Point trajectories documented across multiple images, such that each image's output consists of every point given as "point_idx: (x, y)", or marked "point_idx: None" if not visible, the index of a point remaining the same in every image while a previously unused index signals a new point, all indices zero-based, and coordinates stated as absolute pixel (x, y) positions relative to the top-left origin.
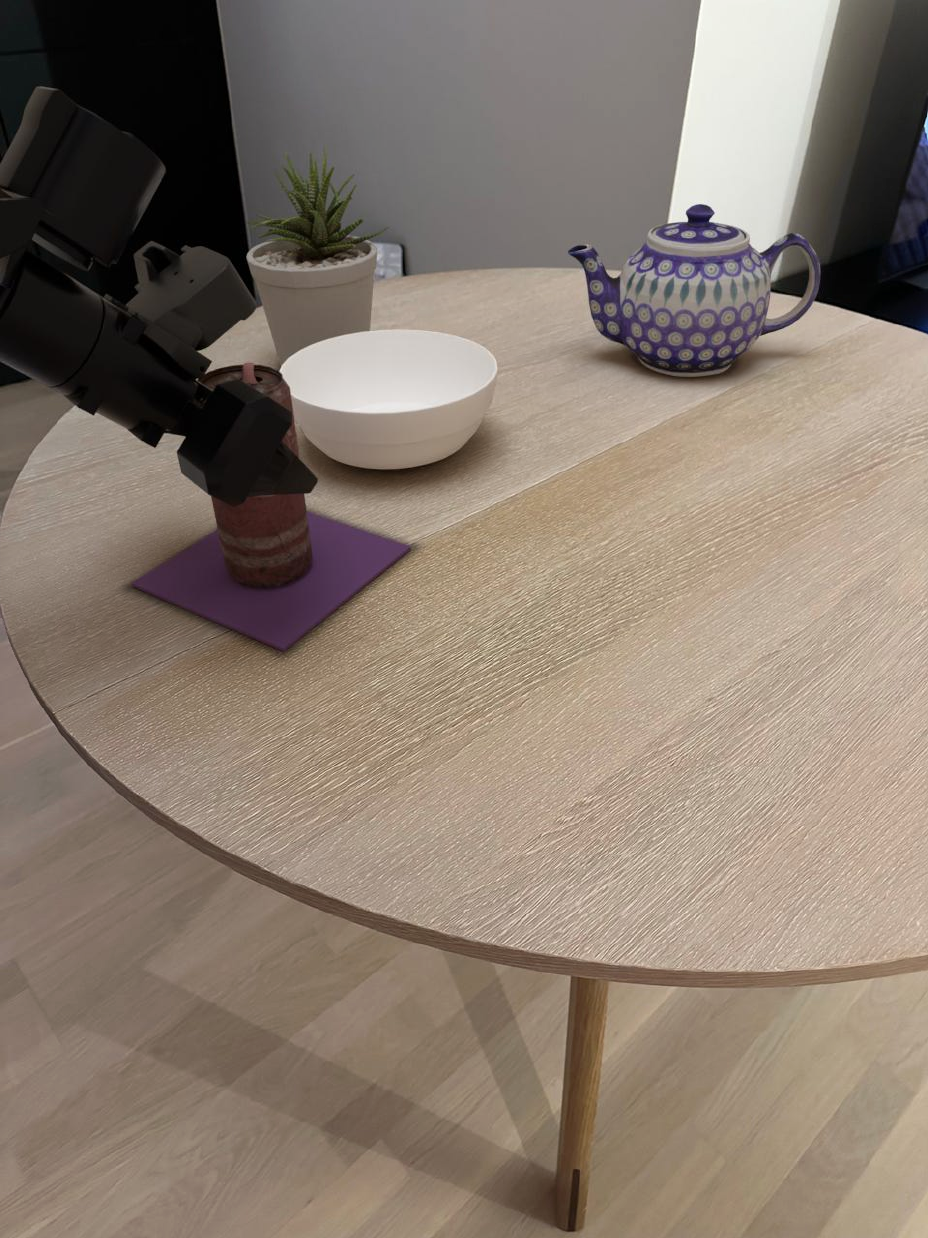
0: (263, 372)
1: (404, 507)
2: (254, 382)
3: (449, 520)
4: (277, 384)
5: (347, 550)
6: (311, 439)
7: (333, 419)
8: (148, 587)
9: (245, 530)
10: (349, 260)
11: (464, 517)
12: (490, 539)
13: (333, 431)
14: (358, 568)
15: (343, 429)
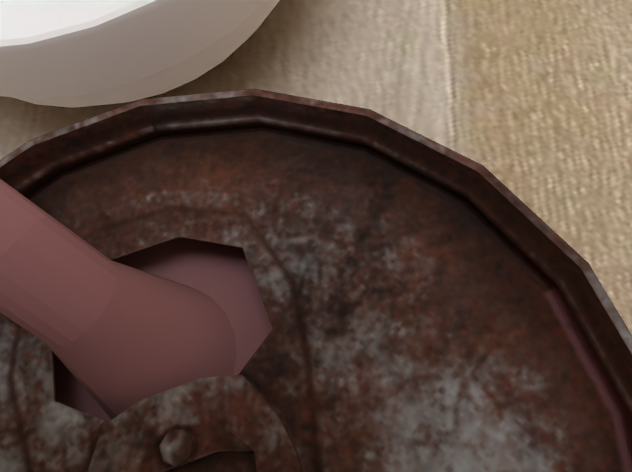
0: (123, 172)
1: (334, 102)
2: (198, 320)
3: (434, 72)
4: (429, 219)
5: None
6: (52, 102)
7: (125, 40)
8: None
9: None
10: None
11: (444, 48)
12: (542, 59)
13: (132, 65)
14: None
15: (157, 46)
